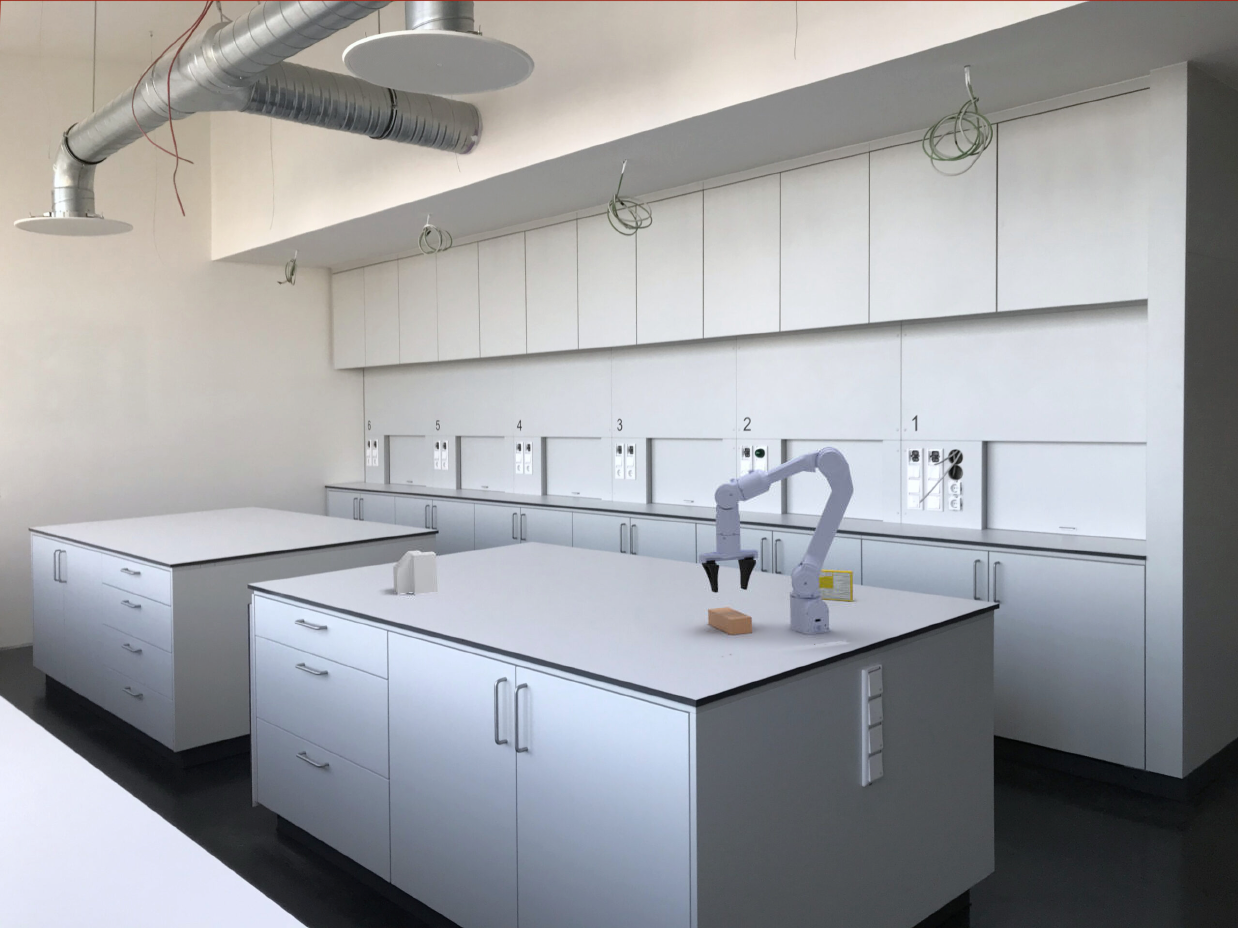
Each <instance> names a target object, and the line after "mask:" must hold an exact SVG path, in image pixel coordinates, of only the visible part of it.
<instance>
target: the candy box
mask: <svg viewBox="0 0 1238 928" xmlns="http://www.w3.org/2000/svg"><path fill="white" fill-rule="evenodd" d="M853 578H854V572H853V570H838V569H837V570H836V569H824V568H823V569H822V570H821V572H820V575H819V588H818V590H819V591H820V592H821V598H822V600H823V601H825V600H826V601H839V602H849V603H852V602H853V601H854V579H853Z"/></svg>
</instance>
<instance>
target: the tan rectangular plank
mask: <svg viewBox="0 0 1238 928" xmlns="http://www.w3.org/2000/svg"><path fill="white" fill-rule="evenodd" d="M707 613H708V614H707V615H708V617H707V619H708V620H707V622H708V625H710V626H712V627H713V628H716V629H718V630H720V631H722V632H724V633H726V634H728V635H730V636H733V635H734V636H735V635H741V634H743V635H744V634H752V633H753V625H752V623H753V622H752V621H753V619H752V616H749V615H747V614H745V613H743V612H740V611H738V610H736V609H734V608H731V607H717V608H711V609H710V608H707Z"/></svg>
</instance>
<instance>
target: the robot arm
mask: <svg viewBox="0 0 1238 928" xmlns="http://www.w3.org/2000/svg"><path fill="white" fill-rule="evenodd" d="M816 469H818V470H819V473H821V474H822V475H823V476H824V478H826V481H827V483H828V485H829V487H830V489H831V491H830V492H831V493H830V494H829V497H828V499H827V501H826V503H825V505H824V509H823V511H822V513H821V516H820V518H819V521H818V523H817V524H816V528H815V530H814V531H813V535H812V537H811V539H810V541H809V544H808V546H807V548H806V551H805V553H804V554H803V557H802V559H801V561H800V562H799V564H798V565H796V566H795V567H794V568H793V569H792V571H791V575H790V576H791V587H792V590H791V591H790V592H789V617H790V618H789V619H790V630H791V631H794V632H799V633H802V634H804V635H815V634H816V635H817V634H824V633H829V632H830V609H829V605H828V604H827V603H826V602H825V600H823V599H822V598H821V592H820V591H819V590H818V588H819V575H820V572H821V570H822V568H823V566H824V563H825V559H826V558H827V555H828V553H829V551H830V549H831V546H832V544H833V541H834V539H835V536H836V534H837V532H838V529H839V527H840V524H841V522H842V520H843V517H844V516H845V513H846V510H847V508H848V506H849V504H850V501H851V498H852V497H853V494H854V489H855V488H854V485H853V479H852V476H851V470H850V465H849V463H848V461H847V460H846V458H845V456H844V455H843V454H842V452H841V451H839V450H838V448H836V447H832V446H826V447H823V448H821V449H820V450H814V451H813V450H812V451H810V452H807V453H804V454H800V455H799V456H796V457H795V458H793V459H791V460H788V461H786V462H784V463H782V464H779V465H778V466H775V467H774V468H771V469H769V470H767V471H766V470H762V469H761V468H758V469H755V470H754V468H751V469H749V470H748V473H745V474H743V475H741V476H739V477H737V478H735V477H731V478H730V479H729V481H730V482H725V483H722V484H721V485H719V486H718V487H717V488H716V490H715V492H714V500H715V503H716V506H715V512H716V514H715V536H716V537H715V538H716V539H715V540H716V542H715V543H716V544H715V545H716V546H715V547H716V548H715V549H716V551H712V552H705V553H699V554H698V561H699V563H701V566H702V567H703V570H704V571H705V573H706V576H707V579H708V580H709V581H708V582H709V586H710V589H711V592H712V593H715V594H717V593H718V592H719V570H720V565H719V564H718V563H717V562H723V561H725V562H726V561H734V560H735V561H736V560H737V562H738V567H739V575H740V576H739V577H740V578H739V579H740V580H739V584H740V589H742V590H745V591H747V590H748V586H749V581H750V579H751V575H752V573H753V570H754V568H755V566H756V565H757V561H756V559H758V558H759V550H757V549H741V545H742V544H741V515H740V512H739V509H740V508H739V502H746V501H749V500H751V499H753V498H756V497H758V496H760V495H763V494H765V493H768V492H769V491H770V488H771V485H772V484H774V483H777V482H779V481H781V480H784V479H786V478H790V477H791V476H794V475H797V474H800V473H801V472H806V473H807V472H808V473H817V470H816Z"/></svg>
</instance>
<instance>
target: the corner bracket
mask: <svg viewBox="0 0 1238 928" xmlns="http://www.w3.org/2000/svg"><path fill="white" fill-rule="evenodd" d="M437 568H438V567H437V553H435V552H434V551H426V552H425V551H420V550H408V551H407V552H406V553H405V554H404V555H402V557H401V558H400V559H399V560H398V561H397V563H396V564H395V565H394V566H393V567H392V569H393V571H392V573H393V591H394V590H395V591H396V592H397V593H398V594H400V593H409V592H414V593H415V594H420V593H429V592H438V571H437ZM395 591H394V592H395ZM396 592H395V593H396ZM438 593H439V592H438ZM415 594H414V595H415Z"/></svg>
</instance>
